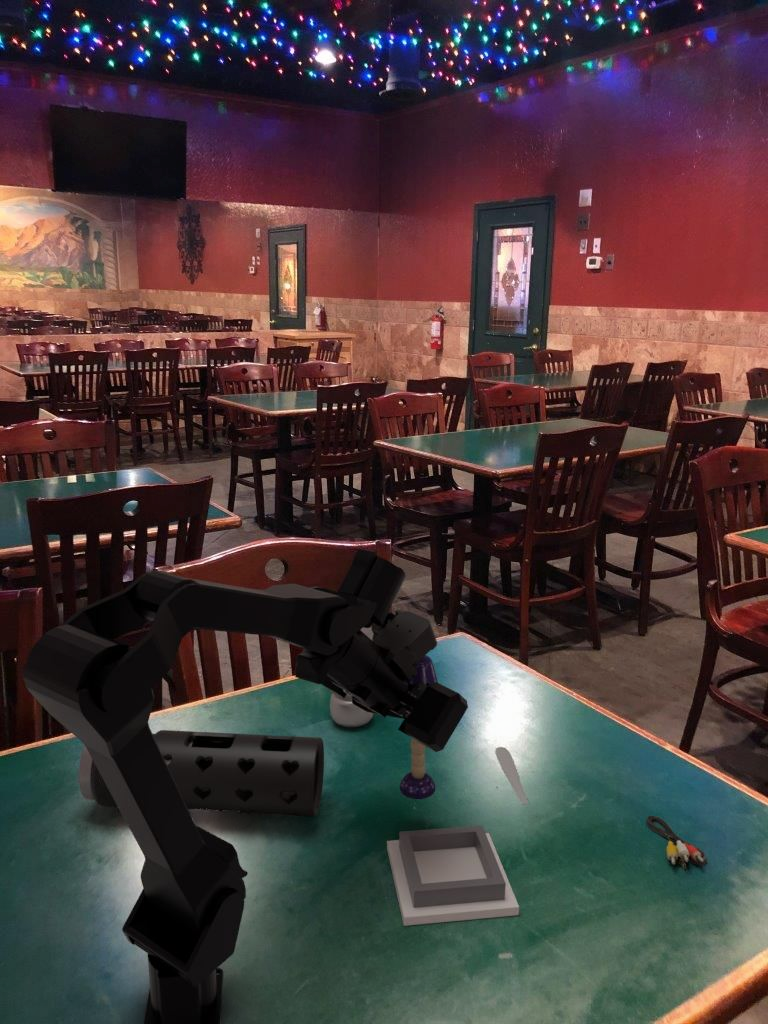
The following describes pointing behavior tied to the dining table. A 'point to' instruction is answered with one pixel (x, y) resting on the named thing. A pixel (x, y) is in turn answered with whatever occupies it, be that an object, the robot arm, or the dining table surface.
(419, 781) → the toy lamp
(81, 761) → the muzzle brake
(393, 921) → the dining table surface
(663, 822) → the composite cable
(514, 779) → the butter knife
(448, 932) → the dining table surface
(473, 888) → the socket plate
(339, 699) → the plastic bottle
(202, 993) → the robot arm
